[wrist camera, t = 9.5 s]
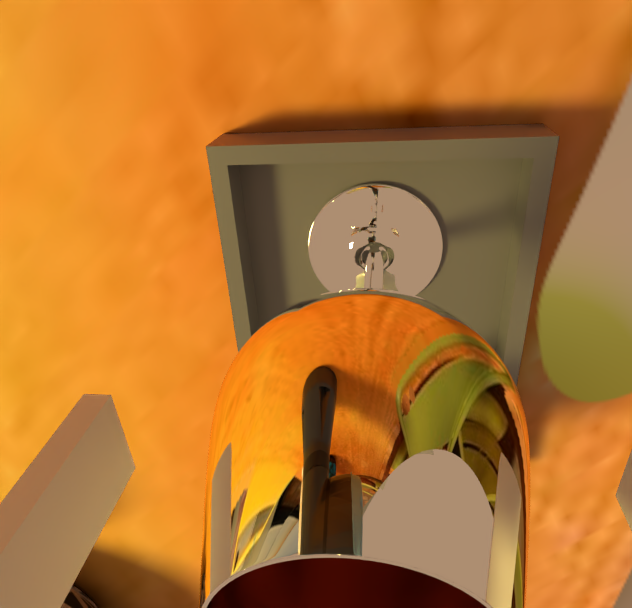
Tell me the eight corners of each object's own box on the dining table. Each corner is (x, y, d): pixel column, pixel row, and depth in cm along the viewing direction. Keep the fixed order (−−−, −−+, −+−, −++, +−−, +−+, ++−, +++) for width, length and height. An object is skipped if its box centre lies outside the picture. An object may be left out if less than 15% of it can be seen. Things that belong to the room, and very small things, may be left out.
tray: (222, 134, 24) (205, 146, 22) (542, 123, 22) (559, 136, 20) (267, 451, 34) (258, 481, 31) (490, 463, 32) (497, 496, 29)
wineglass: (443, 138, 22) (577, 462, 6) (477, 301, 25) (618, 760, 10) (266, 192, 24) (44, 532, 8) (321, 335, 28) (236, 757, 12)
